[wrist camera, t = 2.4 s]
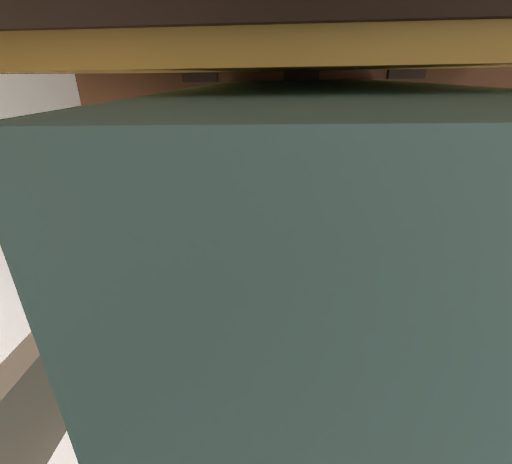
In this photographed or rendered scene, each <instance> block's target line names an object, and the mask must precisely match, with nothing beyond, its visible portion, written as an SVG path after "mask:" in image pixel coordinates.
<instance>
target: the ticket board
mask: <svg viewBox="0 0 512 464" xmlns="http://www.w3.org/2000/svg"><path fill="white" fill-rule="evenodd" d="M67 73H75V76H76V81H77V86H78V90H79V95H80V100H81V105H82V106H84V105H90V104H96V103H102V102H108V101H114V100H120V99H126V98H132V97H138V96H144V95H150V94H156V93H162V92H168V91H174V90H180V89H186V88H192V87H198V86H204V85H210V84H216V83H222V82H230V81H298V80H366V79H379V80H394V81H409V82H425V83H440V84H455V85H470V86H485V87H500V88H512V0H0V74H67Z"/></svg>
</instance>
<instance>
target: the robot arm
mask: <svg viewBox="0 0 512 464" xmlns="http://www.w3.org/2000/svg"><path fill="white" fill-rule="evenodd" d="M66 431H67V429H66V426H65V424H64V421H63V418H62V415H61V412H60V410H59V407H58V404H57V401H56V398H55V396H54V393H53V390H52V387H51V385H50V382H49V379H48V376H47V373H46V371H45V368H44V365H43V362H42V359H41V357H40V354H39V351H38V348H37V345H36V343H35V340H34V337H33V334H32V332H31V333H30V334H29V335H28V336H27V337H26V338H25V339H24V340H23V341H22V342H21V343H20V344H19V345H18V346H17V347H16V348H15V349H14V351H13V352H12V353H11V354H10V355H9V356H8V357H7V358H6V359H5V360H4V361H3V362H2V363H1V364H0V464H47V463H48V461H49V459H50V458H51V456H52V454H53V452H54V451H55V449H56V447H57V446H58V444H59V442H60V441H61V439H62V437H63V436H64V434H65V432H66Z"/></svg>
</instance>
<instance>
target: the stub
mask: <svg viewBox="0 0 512 464" xmlns="http://www.w3.org/2000/svg"><path fill="white" fill-rule="evenodd" d="M0 245H1V247H2V250H3V253H4V256H5V259H6V261H7V264H8V267H9V270H10V273H11V275H12V278H13V281H14V284H15V287H16V289H17V292H18V295H19V298H20V301H21V303H22V306H23V309H24V312H25V315H26V317H27V320H28V323H29V326H30V329H31V331H32V334H33V337H34V340H35V343H36V345H37V348H38V351H39V354H40V357H41V359H42V362H43V365H44V368H45V371H46V373H47V376H48V379H49V382H50V385H51V387H52V390H53V393H54V396H55V398H56V401H57V404H58V407H59V410H60V412H61V415H62V418H63V421H64V424H65V426H66V429H67V432H68V435H69V438H70V440H71V443H72V446H73V449H74V452H75V454H76V457H77V460H78V463H79V464H512V88H500V87H485V86H470V85H455V84H440V83H425V82H409V81H394V80H379V79H366V80H298V81H230V82H222V83H216V84H210V85H204V86H198V87H192V88H186V89H180V90H174V91H168V92H162V93H156V94H150V95H144V96H138V97H132V98H126V99H120V100H114V101H108V102H102V103H96V104H90V105H84V106H78V107H72V108H66V109H60V110H54V111H48V112H42V113H36V114H31V115H25V116H19V117H13V118H7V119H1V120H0Z"/></svg>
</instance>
